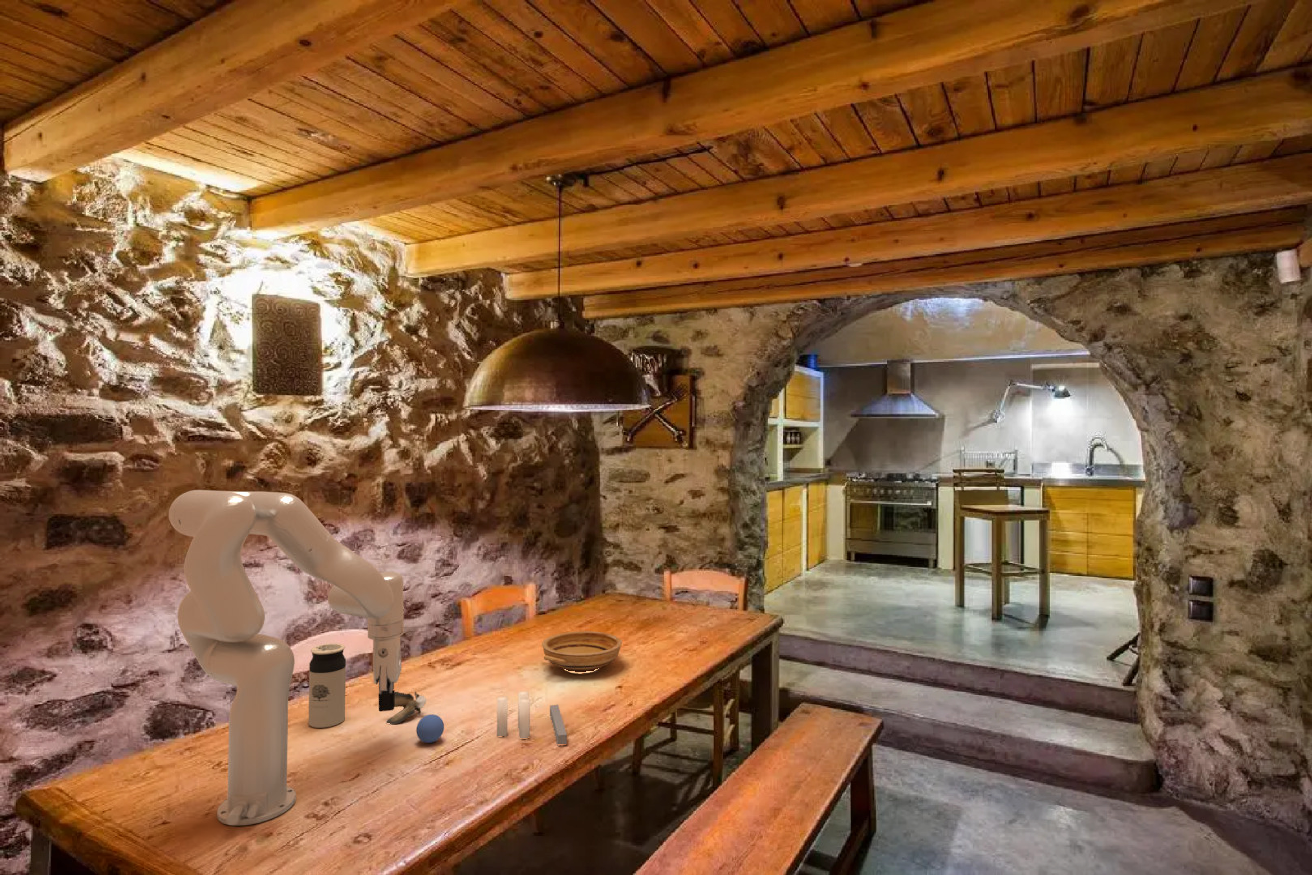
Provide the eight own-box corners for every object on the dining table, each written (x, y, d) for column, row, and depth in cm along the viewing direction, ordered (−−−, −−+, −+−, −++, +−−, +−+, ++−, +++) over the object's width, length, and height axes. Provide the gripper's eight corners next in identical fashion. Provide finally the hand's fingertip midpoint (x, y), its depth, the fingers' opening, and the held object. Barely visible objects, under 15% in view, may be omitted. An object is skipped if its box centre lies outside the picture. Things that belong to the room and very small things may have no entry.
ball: (443, 746, 153) (443, 719, 153) (414, 748, 151) (415, 721, 151) (444, 734, 158) (444, 709, 158) (417, 737, 157) (417, 711, 157)
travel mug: (325, 713, 170) (326, 641, 170) (352, 717, 168) (353, 644, 168) (300, 726, 162) (301, 651, 162) (328, 730, 160) (330, 654, 160)
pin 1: (528, 730, 162) (529, 694, 162) (518, 731, 161) (518, 695, 161) (527, 726, 164) (528, 690, 164) (517, 726, 163) (518, 691, 163)
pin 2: (530, 739, 157) (530, 702, 157) (519, 740, 156) (519, 702, 156) (529, 734, 159) (529, 698, 159) (518, 735, 158) (519, 699, 158)
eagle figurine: (408, 702, 175) (376, 706, 168) (421, 682, 173) (389, 685, 166) (420, 726, 170) (387, 731, 163) (433, 705, 169) (401, 709, 162)
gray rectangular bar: (566, 745, 154) (566, 734, 154) (557, 746, 153) (557, 735, 153) (557, 714, 171) (558, 704, 171) (549, 715, 170) (550, 705, 170)
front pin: (507, 736, 158) (507, 699, 158) (496, 737, 157) (497, 700, 157) (507, 732, 160) (507, 696, 160) (496, 733, 160) (497, 697, 160)
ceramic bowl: (583, 649, 226) (584, 625, 226) (642, 663, 212) (642, 637, 212) (517, 673, 201) (518, 646, 201) (579, 691, 188) (579, 661, 188)
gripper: (399, 637, 146) (400, 721, 147) (406, 618, 161) (407, 694, 161) (362, 640, 144) (363, 725, 145) (373, 620, 159) (374, 698, 159)
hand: (386, 709), depth 153 cm, fingers closed
